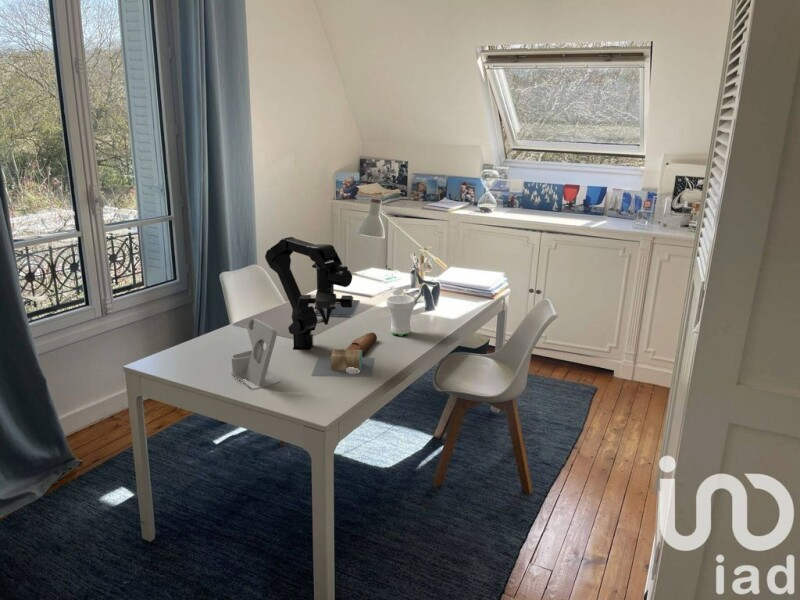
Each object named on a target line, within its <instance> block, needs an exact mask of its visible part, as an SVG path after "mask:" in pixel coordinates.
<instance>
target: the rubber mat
mask: <svg viewBox="0 0 800 600" xmlns="http://www.w3.org/2000/svg"><path fill="white" fill-rule="evenodd" d="M374 365H375V357H362V368H361V370H360V372H359V373H357V374H349V373H347V372H346V370H331V356H327V357H326V356H319V357H317V360H316V362H315V365H314V367H313V370H312V373H311V377H346V378H347V377H349V378H350V377H353V378H354V377H355V378H357V377H358V378H360V377H362V378H364V377H365V378H372V377H373V373H374Z"/></svg>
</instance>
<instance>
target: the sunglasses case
mask: <svg viewBox="0 0 800 600" xmlns="http://www.w3.org/2000/svg"><path fill="white" fill-rule="evenodd" d="M377 340H378V337H377V334H376V333H375V332H369V333H366V334H364V335H362V336H359V337H358V338H355V339H354V340H353V341H352V342H351V344H350V345H349V346H348V347H347V348H346V349H345V350H362V358H364V357H365V355H366V354H367V352H368V351H369V349H371V347H372V346H373V344H375V342H376V341H377Z"/></svg>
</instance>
